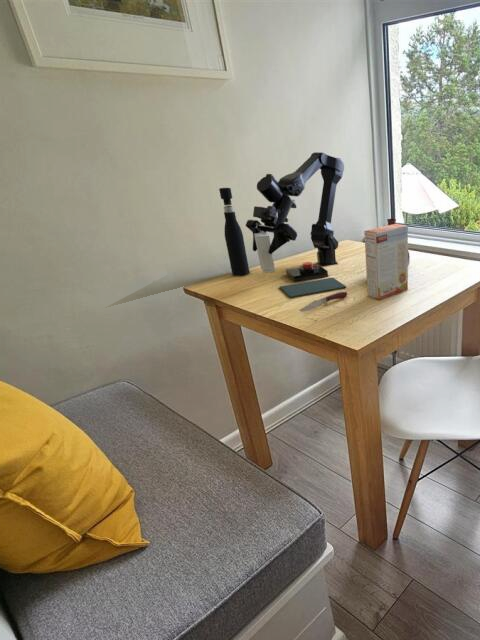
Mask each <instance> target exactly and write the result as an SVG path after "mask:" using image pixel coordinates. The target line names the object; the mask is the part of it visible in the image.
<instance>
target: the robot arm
mask: <svg viewBox="0 0 480 640" xmlns="http://www.w3.org/2000/svg"><path fill="white" fill-rule="evenodd" d="M319 170H320V175H321V178H322V180H323V181H322V182H323V183H322V191H321V198H320V204H319V213H318V217H317V221H316V223H312V224H311V229H310V233H309V235H310V240H311V242H312V245H313V248H314V249H317V252H316V258H317V260H316V261H317V264H318V265H320V266H321V267H326V266H332V265H338V261H336V250H337V249H339V241H338V240H337V239H336V238H335V236H334V233H335V232H334V228H333V226H332V218H333V211H334V205H335V200H336V199H335V198H336V190H337V185H338V184H339V182H340V181H341V180H342V178H343V174H344V171H345V164H344V161H343V160H342V158H340V157H335V156H332V155H328V154H327V153H324V152H322V151H321V152H317V151H316V152H315V151H314V152H313V153H311V154H310V156H309V158H307V159H306V160H305V161H304V162H303V163H302V164H301V165H300V166H299V167H298V168H296V170H295V171H293V172H291V173H288V174H286V175H284V176H282V177H281V178H280V179H278V180H276V178H275V177H274V175H273V173H266V174H265V176H264V177H262V178H261V179H260V180H258V181H257V183H256V190H257V191H258V192H259V193H260V194H261V196H263V197H264V198H265V200H266V201H268V202H269V203H272V205H268V206H267V207H264V206H255V205H254V206H253V213H252V217H253V218H257V219H260V221H259V220H257V219H248V220H247V221H246V223H245V227H246V228H247V229H248V230H250V231H251V232H252V251H253V252H256V251H257V246H256V241H255V236H254V234H255V233H262V232H266V233H272V234H273V238H272V241H271V242H270V244H271V245H270V248H269V253H270V254H272V255H273V253H274V252H275V251H277V250H278V249H279V248H281V247H282V246H284V245H285V244H287V243H290V241H296V240H297V237H298V232H297V231H296V230H295V229H294V227H293V226H292V225H291V224H290V223H288V222H289V219H288V218H287V217H288V215H289V213H290V211H291V209H297V204H296V202H295V199H292V198H291V197H300V196H301V195H302V193H303V191H304V190H305V188H306V183H307V182H308V181H309V180H310V179H311V178H312V177H313V176H314V175H315V174H316V172H318V171H319Z"/></svg>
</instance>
